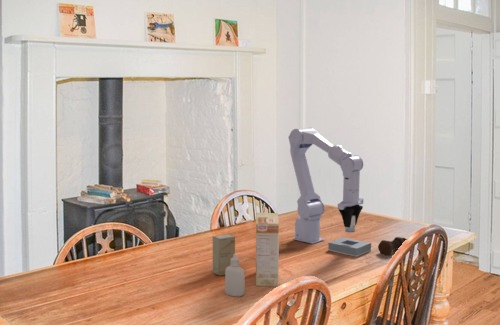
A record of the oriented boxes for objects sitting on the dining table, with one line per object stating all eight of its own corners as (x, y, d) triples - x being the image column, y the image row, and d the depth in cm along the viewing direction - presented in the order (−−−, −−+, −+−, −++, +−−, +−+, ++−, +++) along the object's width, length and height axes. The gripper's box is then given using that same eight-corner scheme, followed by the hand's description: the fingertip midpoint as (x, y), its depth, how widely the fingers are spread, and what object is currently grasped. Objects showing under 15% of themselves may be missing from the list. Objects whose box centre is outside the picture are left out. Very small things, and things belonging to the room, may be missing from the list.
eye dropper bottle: (236, 290, 170) (236, 250, 169) (246, 295, 166) (246, 255, 164) (223, 292, 168) (223, 252, 167) (233, 298, 163) (232, 257, 162)
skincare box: (219, 276, 183) (219, 239, 181) (212, 272, 186) (211, 235, 185) (235, 272, 186) (235, 236, 185) (228, 269, 190) (228, 233, 188)
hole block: (328, 250, 212) (328, 242, 211) (342, 244, 219) (343, 237, 219) (356, 256, 204) (356, 248, 204) (370, 250, 211) (371, 242, 211)
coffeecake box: (256, 270, 188) (256, 212, 186) (277, 271, 188) (278, 212, 186) (255, 286, 174) (255, 223, 171) (278, 286, 173) (279, 223, 171)
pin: (343, 231, 210) (343, 215, 209) (347, 229, 213) (347, 213, 212) (352, 232, 208) (352, 216, 207) (356, 230, 211) (357, 214, 210)
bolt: (406, 251, 218) (385, 258, 207) (396, 243, 220) (375, 249, 209) (413, 240, 215) (393, 246, 204) (403, 231, 218) (383, 237, 207)
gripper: (350, 193, 201) (349, 231, 202) (371, 188, 211) (369, 224, 213) (333, 190, 205) (332, 228, 207) (354, 185, 216) (353, 221, 218)
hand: (350, 225), depth 210 cm, fingers closed on pin, 4 cm apart
